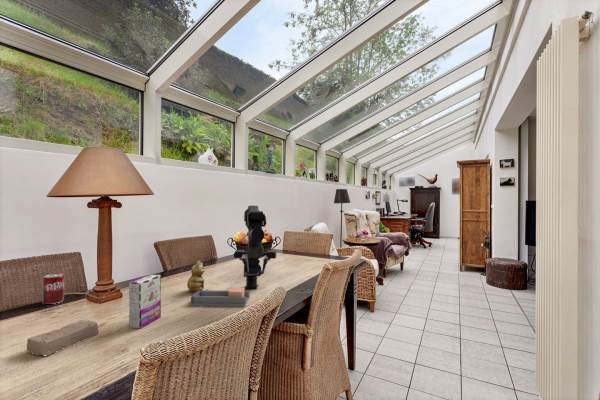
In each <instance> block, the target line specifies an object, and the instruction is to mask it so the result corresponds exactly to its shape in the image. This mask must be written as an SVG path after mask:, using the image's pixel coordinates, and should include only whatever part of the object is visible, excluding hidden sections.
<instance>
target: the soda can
mask: <svg viewBox="0 0 600 400" xmlns="http://www.w3.org/2000/svg"><path fill="white" fill-rule="evenodd" d="M41 291H42V293H41V294H42V296H41V297H42V299H41V300H42V302H41V303H42V304H43V305H44V304H54V305H57V304H56V303H58V304H60V302H61V303H63V301H64V300H65V274H64V273H51V274H46V275H44V276H43V277H42V290H41Z"/></svg>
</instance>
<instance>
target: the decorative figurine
mask: <svg viewBox="0 0 600 400" xmlns="http://www.w3.org/2000/svg"><path fill="white" fill-rule="evenodd" d="M203 265H204V263H203V262H201V260H198V261H196V263H195V264H194V265H193V266H192V267H191V269H190V272H191V276H190V277H189V278H188V281H187V285H186V286H187V289H188V290H189V291H191V293H196V292H197V291H198V290H203V289H204V288H205V279H204V276H203V274H204V273H205V267H204V266H203Z"/></svg>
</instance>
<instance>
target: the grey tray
mask: <svg viewBox="0 0 600 400" xmlns="http://www.w3.org/2000/svg"><path fill="white" fill-rule="evenodd" d="M228 292H229V290H213V289H211V290H209V289H207V290H203V289H202V290H198V291H197V292H194V294H192V295H191V296H190V302H189V306H190V307H233V308H234V307H235V308H236V307H238V308H239V307H241V308H242V307H246V306H247V304H248V301H249V300H250V299H251V295H250V290H245V294H244V297H232V296H228Z"/></svg>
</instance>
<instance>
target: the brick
mask: <svg viewBox="0 0 600 400" xmlns="http://www.w3.org/2000/svg"><path fill="white" fill-rule="evenodd" d="M98 334H99V325H98V323H97V322H96V321H93V320H88V319H81V320H77V321H76V322H72V323H69V324H67V325H64V326H62V327H61V328H58V329H53V330H50V331H48V332H44V333H41V334H38V335H33V336H31V337H28V338H27V339H26V341H27V343H26V351H27V352H28V353H30V354H31V353H33V354H32V355H35V354H37V355H43V356H44V355H48V356H50V355H49V354H51V355H53V354H52V353H54V352H56V351H58V350H61V349H63V348H66V347H68V346H70V347H72V346H74V345H73V344H75V343H77V342H79V341H81V342H83V341H85V340H84V339H86V340H88V339H90V338H92V337H94V336H97V335H98ZM87 338H88V339H87ZM82 340H83V341H82ZM79 343H80V342H79ZM77 344H78V343H77ZM71 345H72V346H71ZM75 345H76V344H75ZM68 348H69V347H68ZM66 349H67V348H66ZM63 350H64V349H63ZM61 351H62V350H61ZM58 352H59V351H58ZM54 354H55V353H54ZM37 355H36V356H37ZM43 356H42V357H43Z"/></svg>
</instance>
